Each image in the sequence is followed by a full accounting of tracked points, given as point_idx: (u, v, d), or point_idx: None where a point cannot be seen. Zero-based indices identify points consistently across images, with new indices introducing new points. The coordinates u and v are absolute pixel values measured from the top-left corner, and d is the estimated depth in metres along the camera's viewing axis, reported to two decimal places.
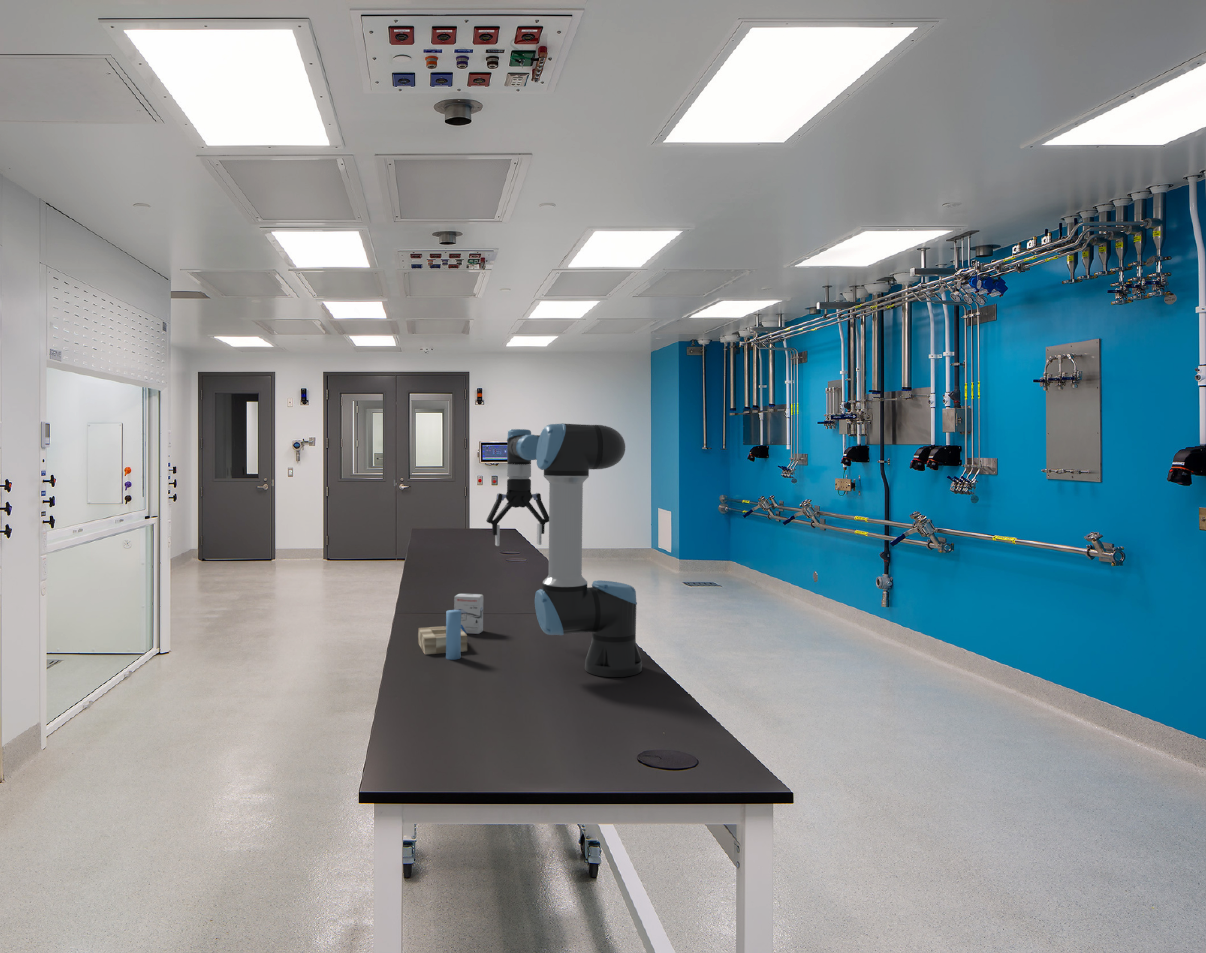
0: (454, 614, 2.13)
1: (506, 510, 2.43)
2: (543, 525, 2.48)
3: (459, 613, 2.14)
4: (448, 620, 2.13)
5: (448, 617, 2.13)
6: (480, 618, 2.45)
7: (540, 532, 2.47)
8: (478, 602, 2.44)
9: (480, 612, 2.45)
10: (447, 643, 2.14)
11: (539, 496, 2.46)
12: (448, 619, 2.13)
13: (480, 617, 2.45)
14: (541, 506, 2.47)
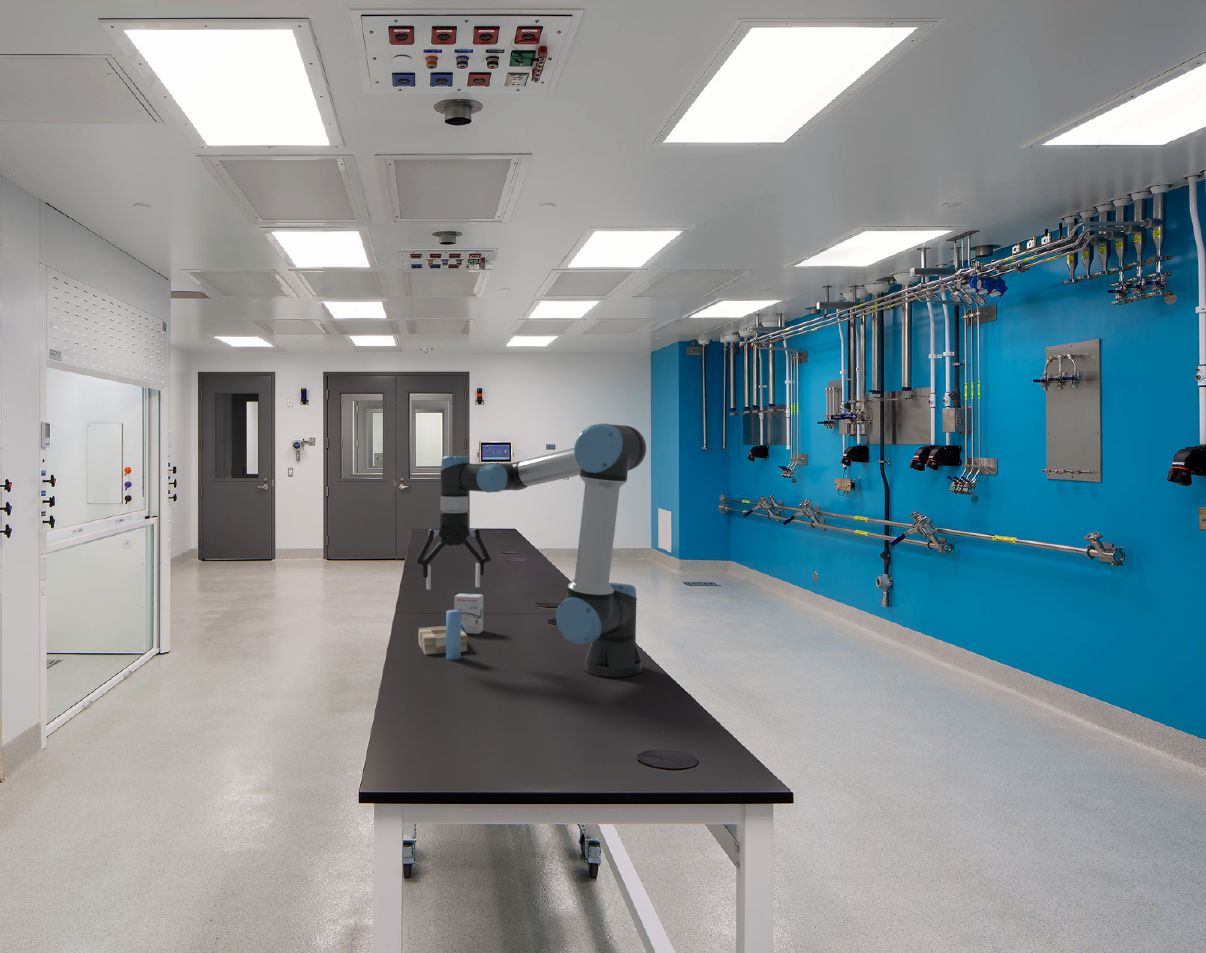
0: (454, 614, 2.13)
1: (438, 549, 2.12)
2: (482, 565, 2.17)
3: (459, 613, 2.14)
4: (448, 620, 2.13)
5: (448, 617, 2.13)
6: (480, 618, 2.45)
7: (478, 573, 2.16)
8: (478, 602, 2.44)
9: (480, 612, 2.45)
10: (447, 643, 2.14)
11: (477, 532, 2.15)
12: (448, 619, 2.13)
13: (480, 617, 2.45)
14: (480, 543, 2.16)
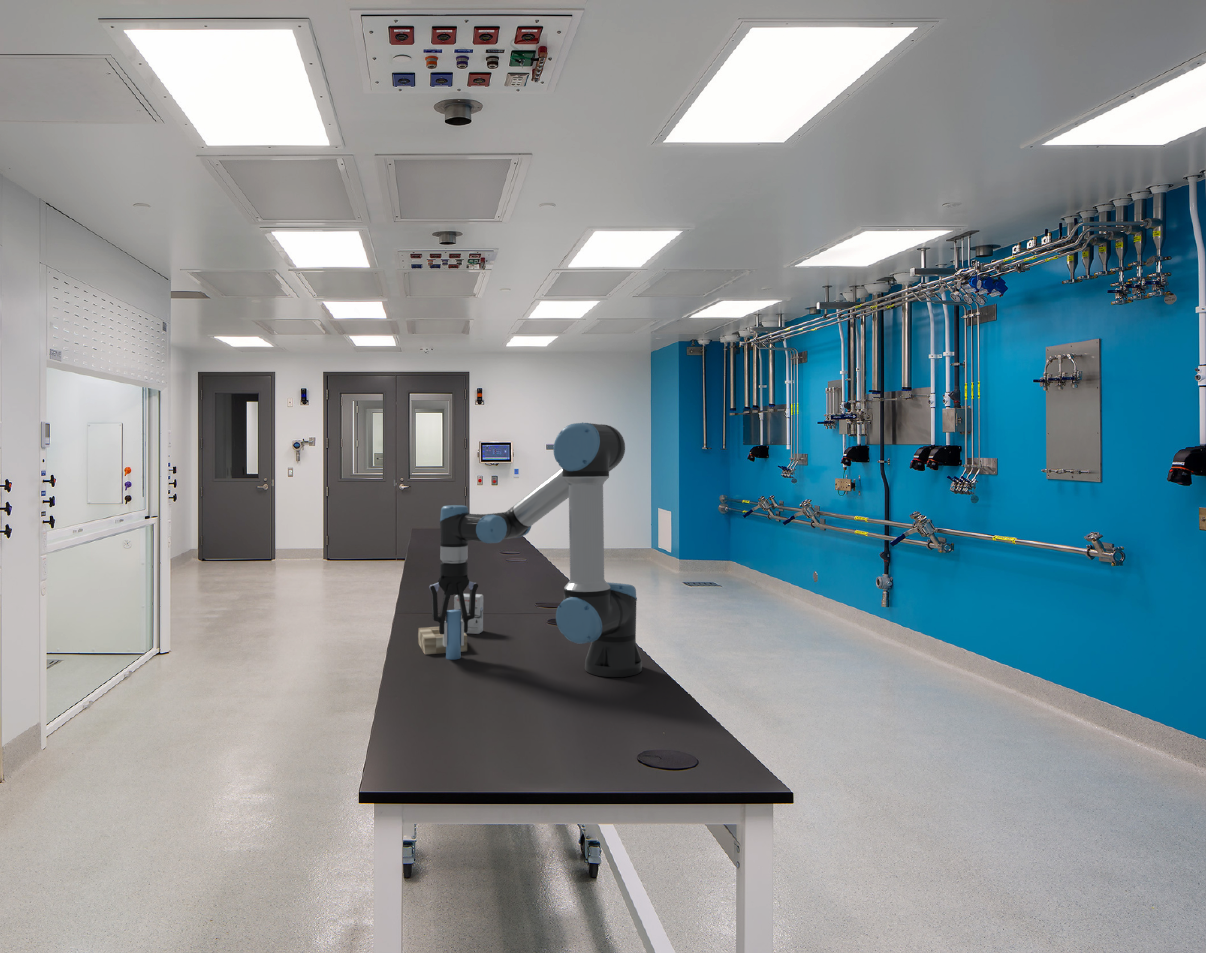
0: (454, 614, 2.13)
1: (446, 602, 2.13)
2: (466, 623, 2.15)
3: (459, 613, 2.14)
4: (448, 620, 2.13)
5: (448, 617, 2.13)
6: (480, 618, 2.45)
7: (462, 631, 2.14)
8: (478, 602, 2.44)
9: (480, 612, 2.45)
10: (447, 643, 2.14)
11: (476, 587, 2.15)
12: (448, 619, 2.13)
13: (480, 617, 2.45)
14: (472, 598, 2.15)
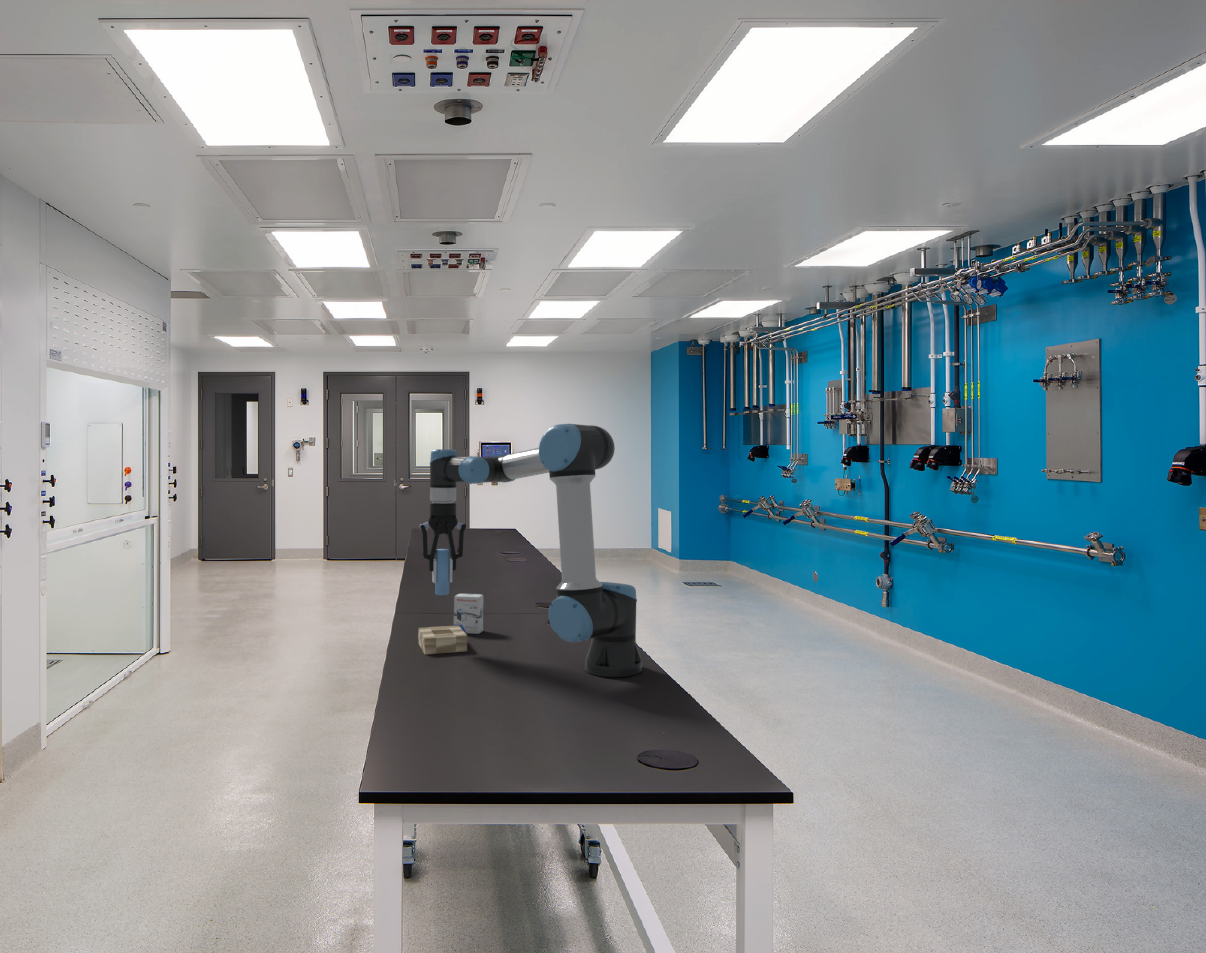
0: (443, 552, 2.24)
1: (436, 540, 2.24)
2: (454, 561, 2.27)
3: (448, 551, 2.25)
4: (437, 557, 2.25)
5: (437, 555, 2.24)
6: (480, 618, 2.45)
7: (451, 568, 2.26)
8: (478, 602, 2.44)
9: (480, 612, 2.45)
10: (436, 579, 2.25)
11: (464, 527, 2.27)
12: (437, 557, 2.24)
13: (480, 617, 2.45)
14: (460, 538, 2.27)
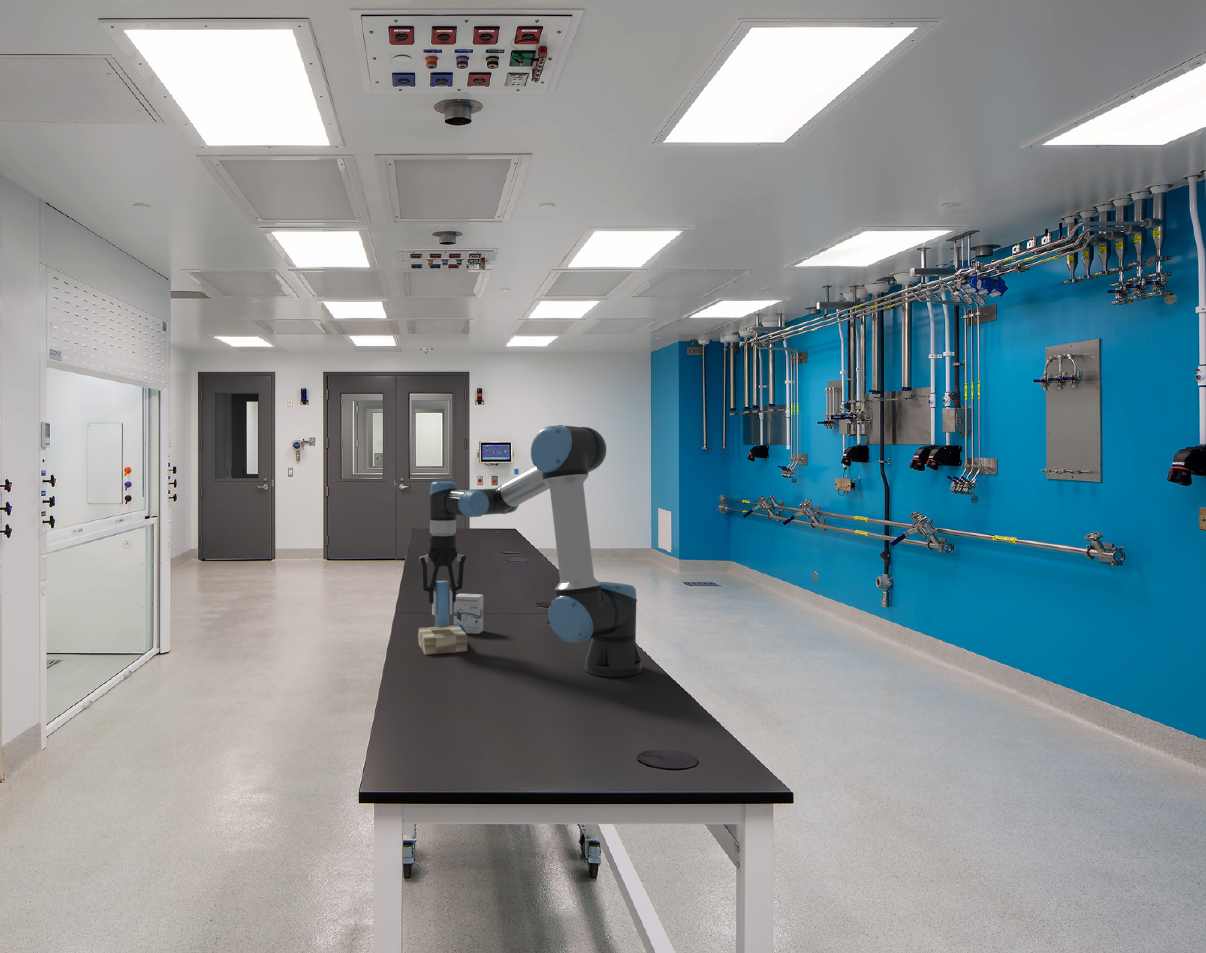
0: (443, 584, 2.25)
1: (435, 573, 2.24)
2: (454, 593, 2.27)
3: (447, 583, 2.26)
4: (437, 590, 2.25)
5: (437, 587, 2.25)
6: (480, 618, 2.45)
7: (451, 601, 2.26)
8: (478, 602, 2.44)
9: (480, 612, 2.45)
10: (436, 612, 2.25)
11: (463, 559, 2.27)
12: (437, 589, 2.25)
13: (480, 617, 2.45)
14: (460, 570, 2.27)
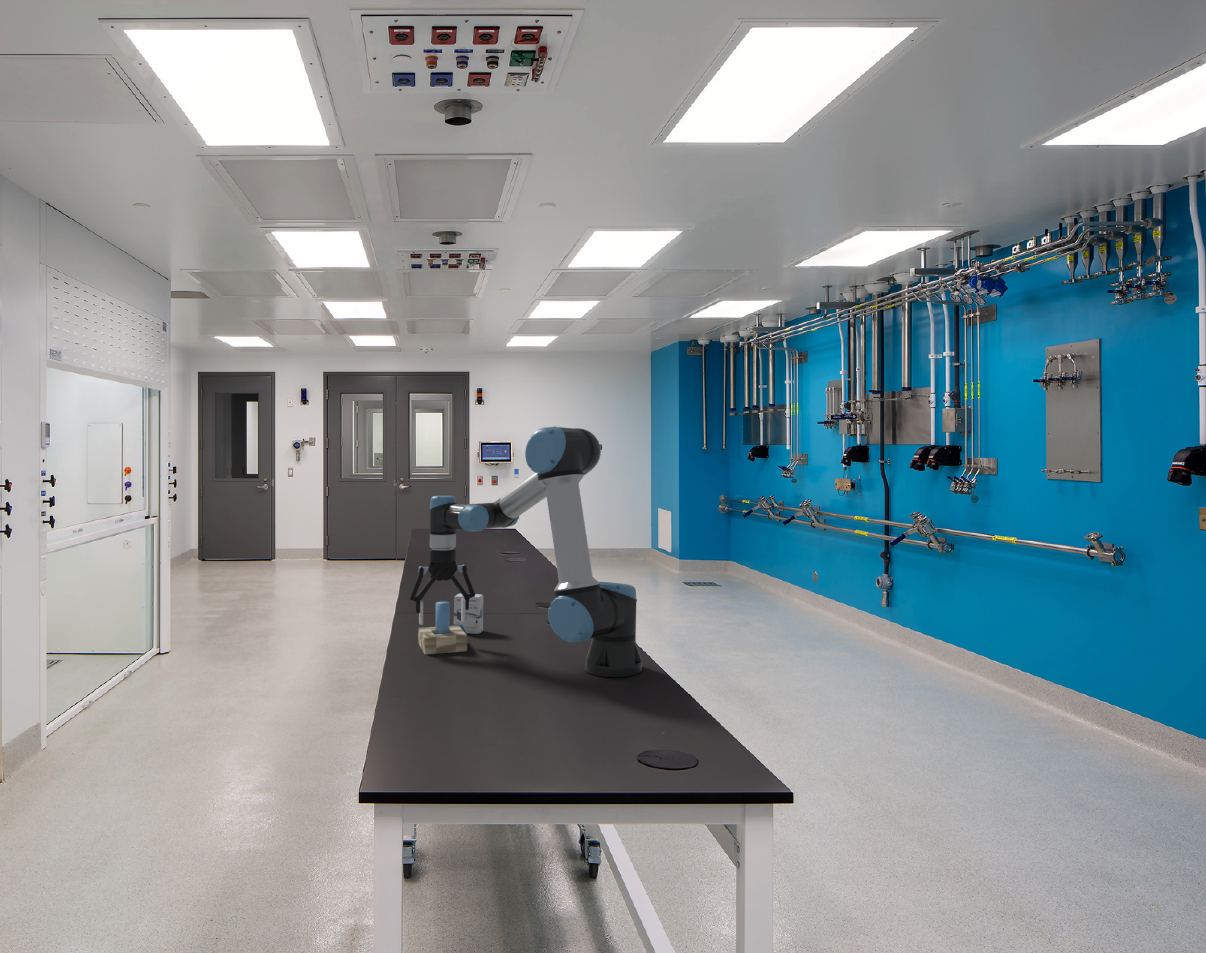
0: (443, 605, 2.25)
1: (429, 585, 2.24)
2: (467, 600, 2.28)
3: (448, 604, 2.26)
4: (437, 611, 2.25)
5: (437, 608, 2.25)
6: (480, 618, 2.45)
7: (464, 608, 2.27)
8: (478, 602, 2.44)
9: (480, 612, 2.45)
10: (436, 633, 2.25)
11: (465, 569, 2.27)
12: (437, 610, 2.25)
13: (480, 617, 2.45)
14: (466, 579, 2.28)
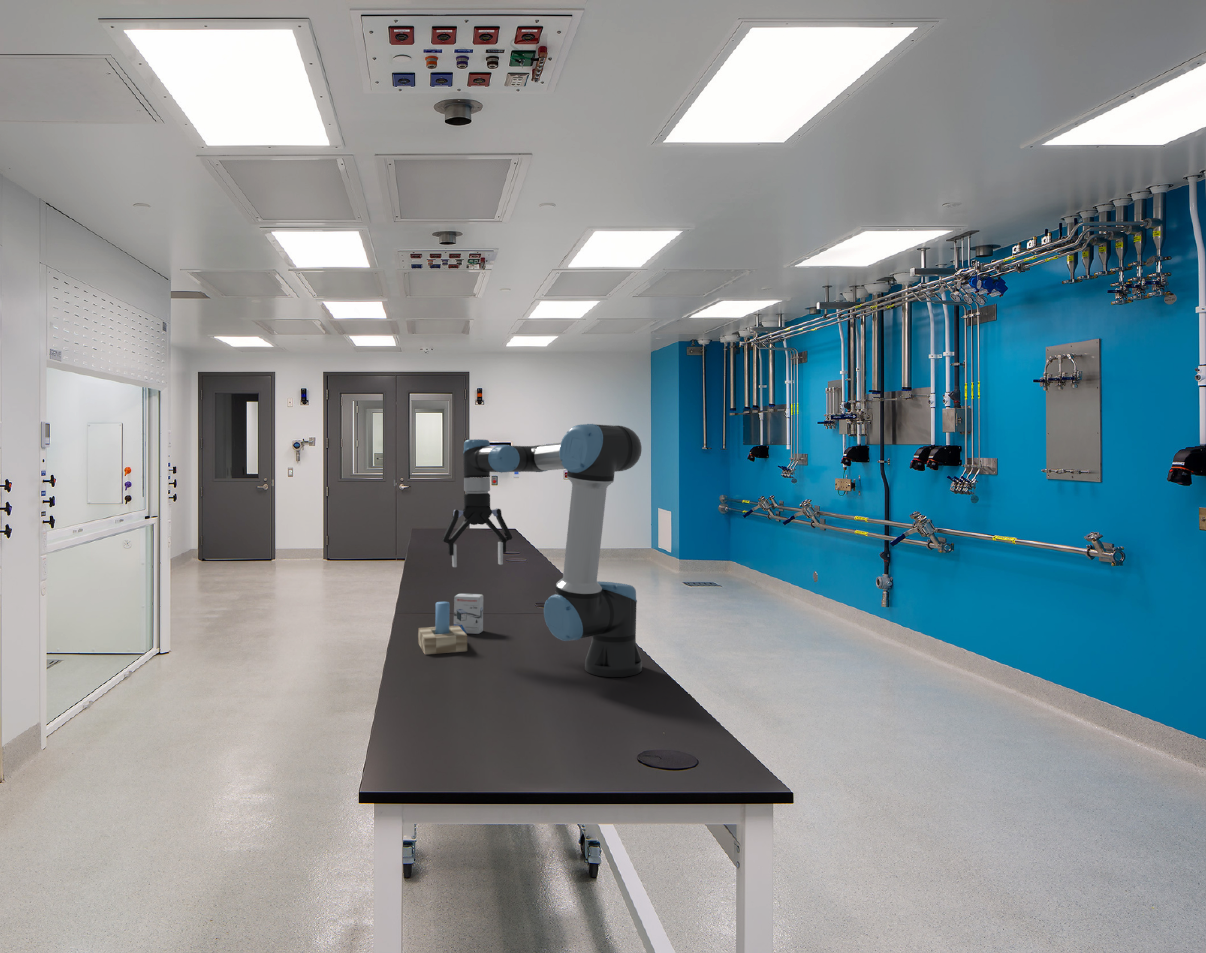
0: (443, 605, 2.25)
1: (463, 528, 2.22)
2: (504, 543, 2.28)
3: (448, 604, 2.26)
4: (437, 611, 2.25)
5: (437, 608, 2.25)
6: (480, 618, 2.45)
7: (501, 551, 2.27)
8: (478, 602, 2.44)
9: (480, 612, 2.45)
10: (436, 633, 2.25)
11: (499, 512, 2.26)
12: (437, 610, 2.25)
13: (480, 617, 2.45)
14: (502, 523, 2.27)
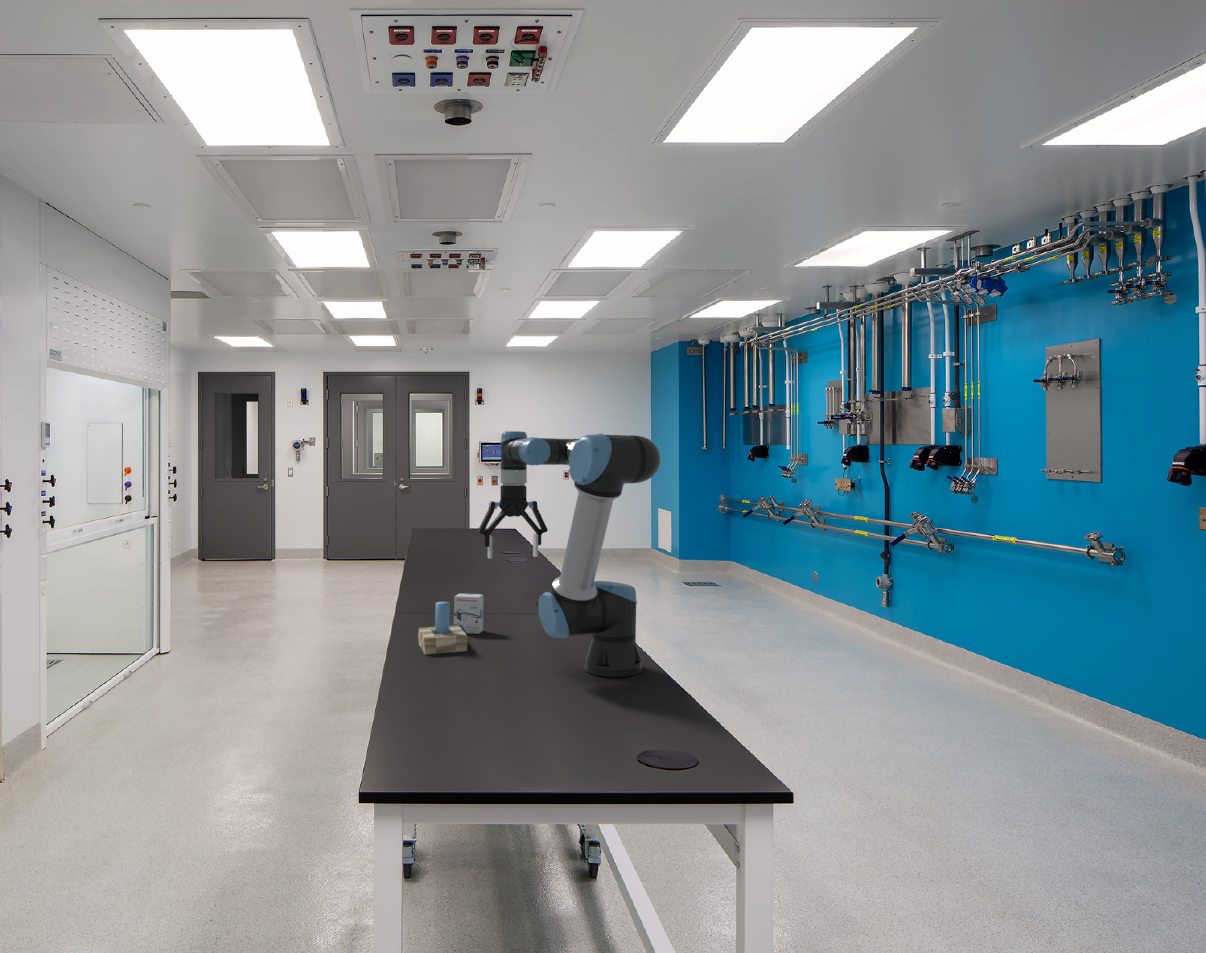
0: (443, 605, 2.25)
1: (499, 519, 2.22)
2: (540, 536, 2.27)
3: (448, 604, 2.26)
4: (437, 611, 2.25)
5: (437, 608, 2.25)
6: (480, 618, 2.45)
7: (536, 543, 2.26)
8: (478, 602, 2.44)
9: (480, 612, 2.45)
10: (436, 633, 2.25)
11: (535, 504, 2.26)
12: (437, 610, 2.25)
13: (480, 617, 2.45)
14: (538, 515, 2.26)
